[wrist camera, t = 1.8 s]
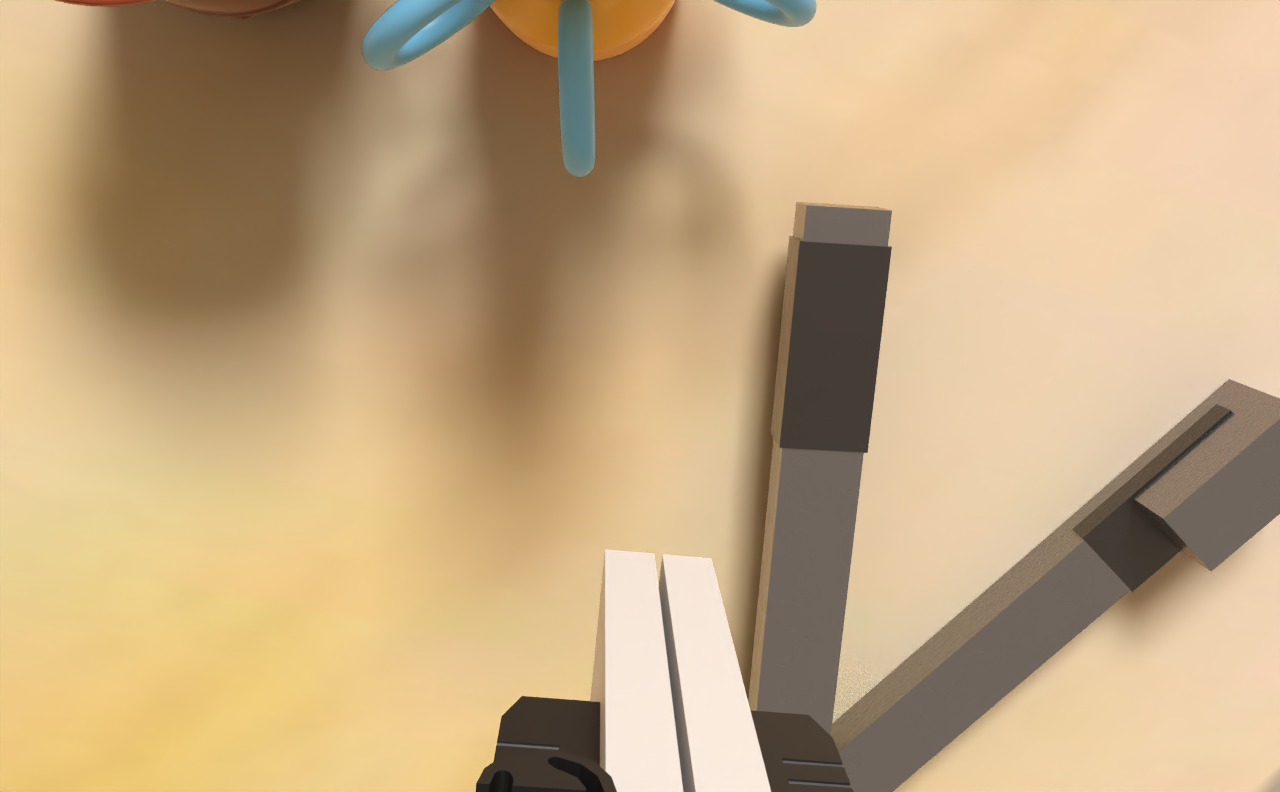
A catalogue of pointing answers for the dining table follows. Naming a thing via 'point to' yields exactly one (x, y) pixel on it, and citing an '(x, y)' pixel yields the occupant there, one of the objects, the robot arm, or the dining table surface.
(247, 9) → the mug
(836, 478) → the tongs arm
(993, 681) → the tongs fixed
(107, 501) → the dining table surface
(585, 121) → the cylinder
